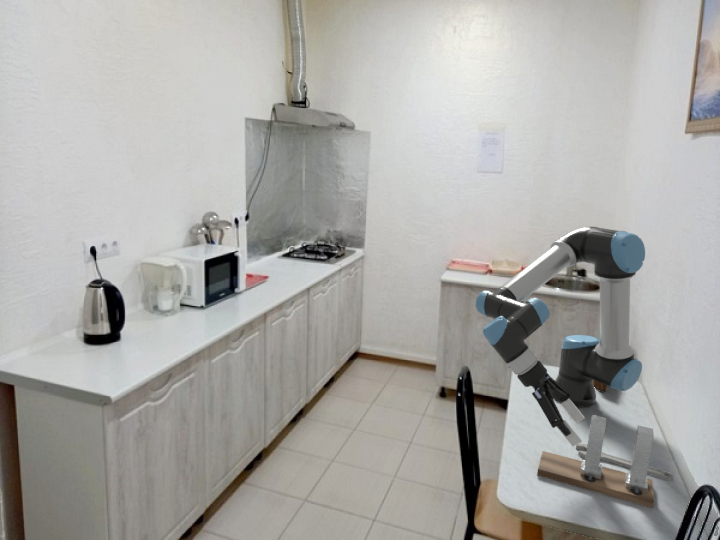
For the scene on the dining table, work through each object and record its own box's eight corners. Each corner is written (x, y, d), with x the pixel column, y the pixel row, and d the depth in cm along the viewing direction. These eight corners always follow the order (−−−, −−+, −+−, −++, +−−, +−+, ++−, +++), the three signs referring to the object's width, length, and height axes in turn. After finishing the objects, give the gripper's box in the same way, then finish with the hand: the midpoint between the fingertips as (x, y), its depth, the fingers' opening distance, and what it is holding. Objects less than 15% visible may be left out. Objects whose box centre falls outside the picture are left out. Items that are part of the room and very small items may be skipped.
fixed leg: (625, 477, 141) (634, 423, 138) (646, 483, 139) (656, 428, 136) (625, 491, 136) (635, 435, 132) (647, 497, 133) (657, 440, 130)
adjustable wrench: (672, 478, 146) (673, 472, 146) (670, 490, 141) (671, 484, 141) (578, 446, 160) (579, 441, 160) (572, 455, 155) (573, 450, 155)
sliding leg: (581, 464, 146) (589, 412, 142) (601, 469, 144) (609, 417, 140) (579, 477, 140) (587, 424, 136) (600, 483, 138) (608, 429, 134)
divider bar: (541, 457, 153) (542, 450, 153) (650, 486, 141) (652, 479, 141) (537, 475, 144) (538, 468, 144) (652, 508, 133) (654, 500, 132)
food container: (591, 378, 209) (595, 354, 207) (608, 382, 206) (612, 358, 204) (587, 389, 199) (590, 364, 196) (605, 394, 196) (608, 368, 193)
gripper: (523, 359, 157) (570, 417, 154) (508, 392, 135) (563, 461, 132) (543, 345, 154) (592, 405, 151) (532, 377, 131) (588, 447, 129)
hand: (578, 431), depth 142 cm, fingers open, 13 cm apart
